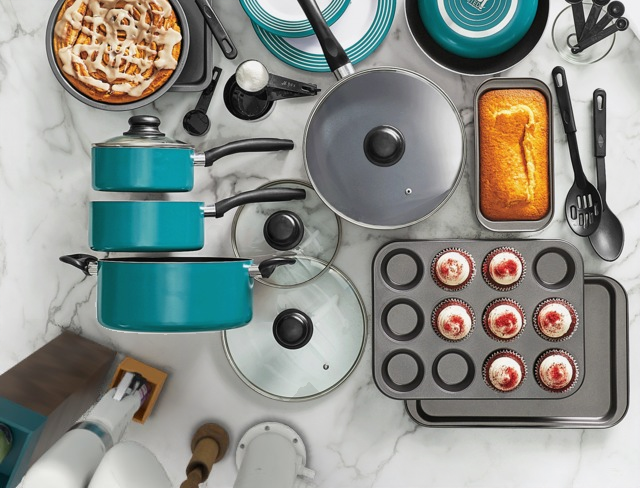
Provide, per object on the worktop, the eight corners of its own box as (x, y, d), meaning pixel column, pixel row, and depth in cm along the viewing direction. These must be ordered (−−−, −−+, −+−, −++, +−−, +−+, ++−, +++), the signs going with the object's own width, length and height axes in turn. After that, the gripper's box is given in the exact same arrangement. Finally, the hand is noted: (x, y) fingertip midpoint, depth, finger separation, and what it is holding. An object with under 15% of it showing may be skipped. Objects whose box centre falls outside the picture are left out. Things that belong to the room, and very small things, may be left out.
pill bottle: (157, 381, 122) (141, 402, 112) (143, 406, 122) (124, 429, 112) (132, 365, 122) (113, 385, 112) (117, 391, 122) (96, 413, 112)
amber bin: (167, 374, 122) (160, 383, 118) (150, 414, 122) (142, 425, 118) (127, 356, 122) (118, 364, 118) (110, 396, 122) (100, 406, 118)
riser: (117, 351, 122) (46, 416, 94) (95, 401, 123) (19, 481, 95) (66, 329, 122) (-19, 387, 94) (45, 379, 123) (-46, 452, 95)
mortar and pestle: (225, 462, 122) (203, 519, 104) (190, 455, 122) (162, 510, 104) (232, 426, 122) (211, 477, 104) (197, 419, 122) (170, 469, 104)
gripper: (86, 513, 98) (127, 457, 115) (132, 405, 97) (167, 365, 115) (39, 492, 98) (87, 439, 115) (85, 384, 98) (126, 347, 115)
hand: (126, 402), depth 115 cm, fingers open, 9 cm apart
